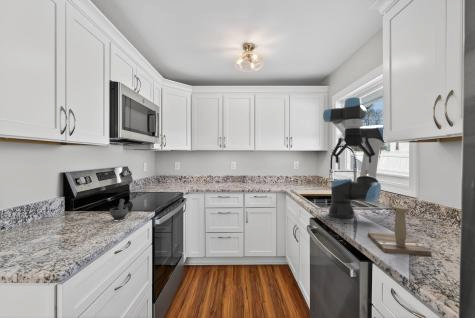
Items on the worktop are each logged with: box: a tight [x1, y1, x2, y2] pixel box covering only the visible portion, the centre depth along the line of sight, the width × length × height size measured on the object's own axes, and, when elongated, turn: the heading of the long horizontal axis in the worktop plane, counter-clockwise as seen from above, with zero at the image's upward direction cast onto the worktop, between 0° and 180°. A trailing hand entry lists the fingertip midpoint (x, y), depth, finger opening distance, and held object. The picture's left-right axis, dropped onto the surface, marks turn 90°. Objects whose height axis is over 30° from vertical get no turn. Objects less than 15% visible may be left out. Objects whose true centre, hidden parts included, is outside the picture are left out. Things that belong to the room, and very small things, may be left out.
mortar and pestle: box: [109, 198, 129, 221], centre depth 144 cm, size 11×9×12 cm
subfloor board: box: [367, 231, 432, 256], centre depth 101 cm, size 20×16×2 cm
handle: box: [391, 205, 410, 245], centre depth 97 cm, size 5×6×15 cm
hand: (352, 169), depth 123 cm, fingers open, 13 cm apart
